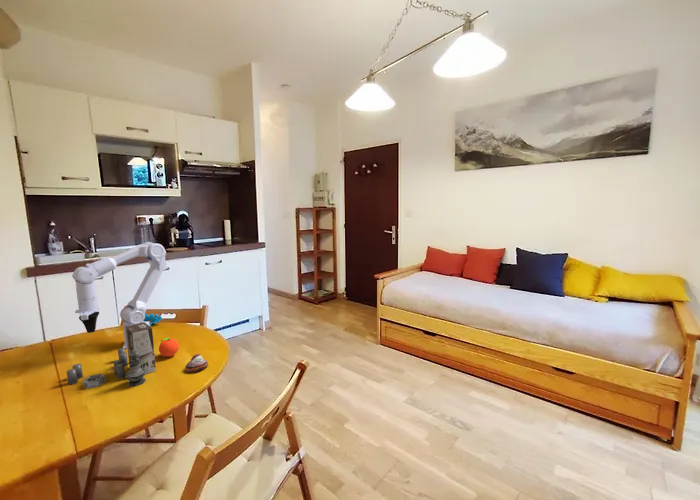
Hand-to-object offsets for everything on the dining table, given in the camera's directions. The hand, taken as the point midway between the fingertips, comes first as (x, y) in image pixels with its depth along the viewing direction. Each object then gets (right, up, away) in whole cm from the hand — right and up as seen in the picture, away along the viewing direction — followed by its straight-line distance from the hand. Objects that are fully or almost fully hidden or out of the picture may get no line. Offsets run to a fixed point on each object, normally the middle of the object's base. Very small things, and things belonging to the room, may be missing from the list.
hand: (91, 331), depth 127 cm
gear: (+3, -6, +31) cm, 32 cm away
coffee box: (+26, -12, -9) cm, 29 cm away
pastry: (+45, -12, -8) cm, 47 cm away
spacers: (+12, -12, -11) cm, 20 cm away
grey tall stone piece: (+29, -13, -17) cm, 36 cm away
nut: (+15, -13, -18) cm, 27 cm away
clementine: (+29, -10, +2) cm, 31 cm away
